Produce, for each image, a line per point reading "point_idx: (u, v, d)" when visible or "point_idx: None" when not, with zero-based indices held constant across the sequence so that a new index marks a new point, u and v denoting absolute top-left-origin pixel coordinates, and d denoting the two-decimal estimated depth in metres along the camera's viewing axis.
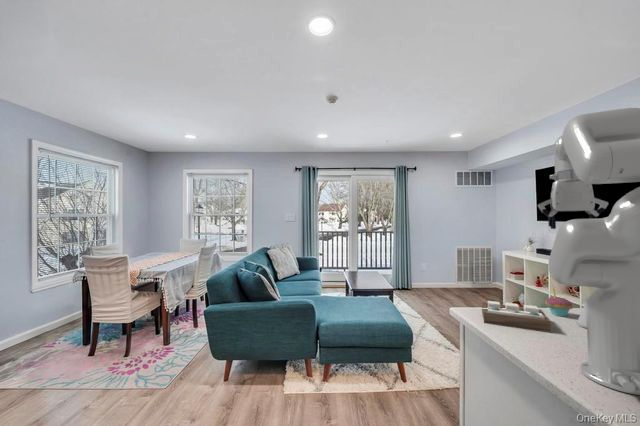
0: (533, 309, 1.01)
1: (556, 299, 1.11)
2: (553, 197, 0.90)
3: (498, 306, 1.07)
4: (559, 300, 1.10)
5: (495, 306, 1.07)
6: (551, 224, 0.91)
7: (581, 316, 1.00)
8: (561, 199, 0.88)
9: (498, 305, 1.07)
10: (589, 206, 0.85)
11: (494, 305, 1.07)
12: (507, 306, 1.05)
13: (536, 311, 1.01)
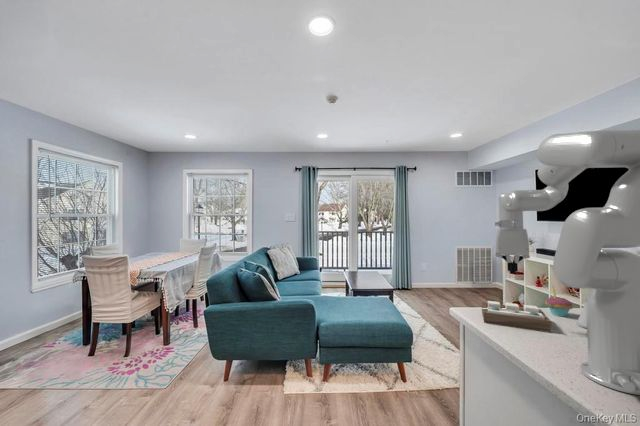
0: (533, 309, 1.01)
1: (556, 299, 1.11)
2: (497, 242, 1.04)
3: (498, 306, 1.07)
4: (559, 300, 1.10)
5: (495, 306, 1.07)
6: (509, 269, 1.03)
7: (581, 316, 1.00)
8: (503, 244, 1.02)
9: (498, 305, 1.07)
10: (525, 252, 0.99)
11: (494, 305, 1.07)
12: (507, 306, 1.05)
13: (536, 311, 1.01)
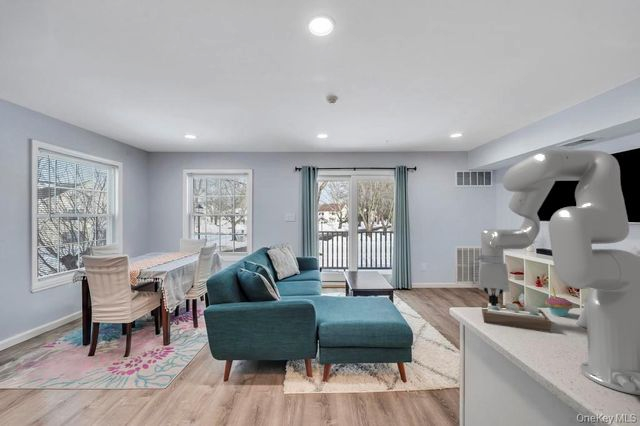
0: (533, 309, 1.01)
1: (556, 299, 1.11)
2: (479, 275, 1.10)
3: None
4: (559, 300, 1.10)
5: None
6: (490, 301, 1.09)
7: (581, 316, 1.00)
8: (484, 278, 1.09)
9: None
10: (504, 286, 1.05)
11: None
12: (507, 306, 1.05)
13: (536, 311, 1.01)
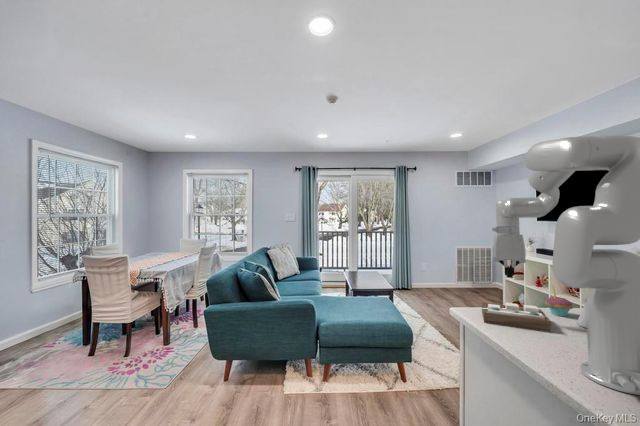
0: (533, 309, 1.01)
1: (556, 299, 1.11)
2: (494, 247, 1.08)
3: None
4: (559, 300, 1.10)
5: None
6: (506, 273, 1.07)
7: (581, 316, 1.00)
8: (500, 249, 1.06)
9: None
10: (521, 257, 1.03)
11: None
12: (507, 306, 1.05)
13: (536, 311, 1.01)
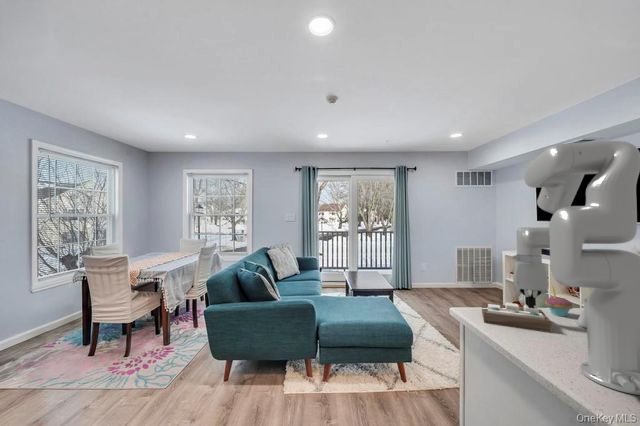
0: (533, 310, 1.01)
1: (556, 299, 1.11)
2: (515, 276, 1.05)
3: None
4: (559, 300, 1.10)
5: None
6: (527, 303, 1.03)
7: (581, 316, 1.00)
8: (521, 279, 1.03)
9: None
10: (543, 287, 1.00)
11: None
12: (507, 306, 1.05)
13: (536, 312, 1.01)
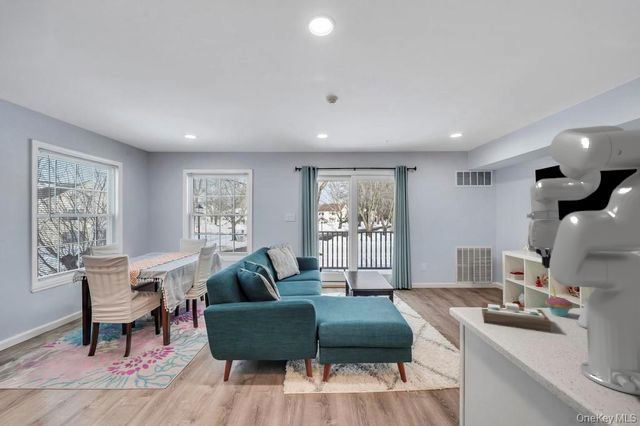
0: None
1: (556, 299, 1.11)
2: (530, 235, 0.98)
3: None
4: (559, 300, 1.10)
5: None
6: (544, 264, 0.96)
7: (581, 316, 1.00)
8: (537, 237, 0.96)
9: None
10: None
11: None
12: (507, 306, 1.05)
13: None
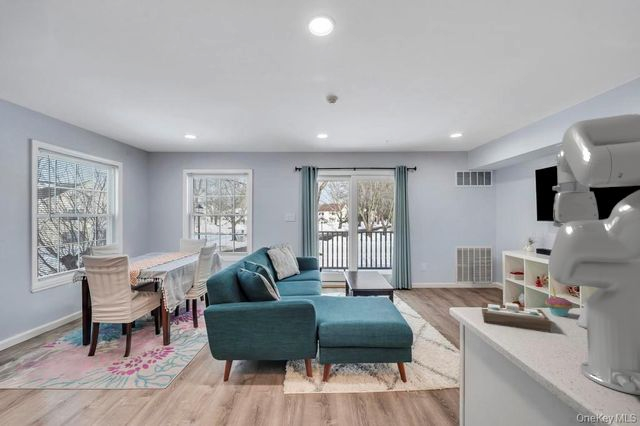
0: None
1: (556, 299, 1.11)
2: (556, 209, 0.89)
3: None
4: (559, 300, 1.10)
5: None
6: None
7: (581, 316, 1.00)
8: (564, 211, 0.87)
9: None
10: (593, 218, 0.84)
11: None
12: (507, 306, 1.05)
13: None
